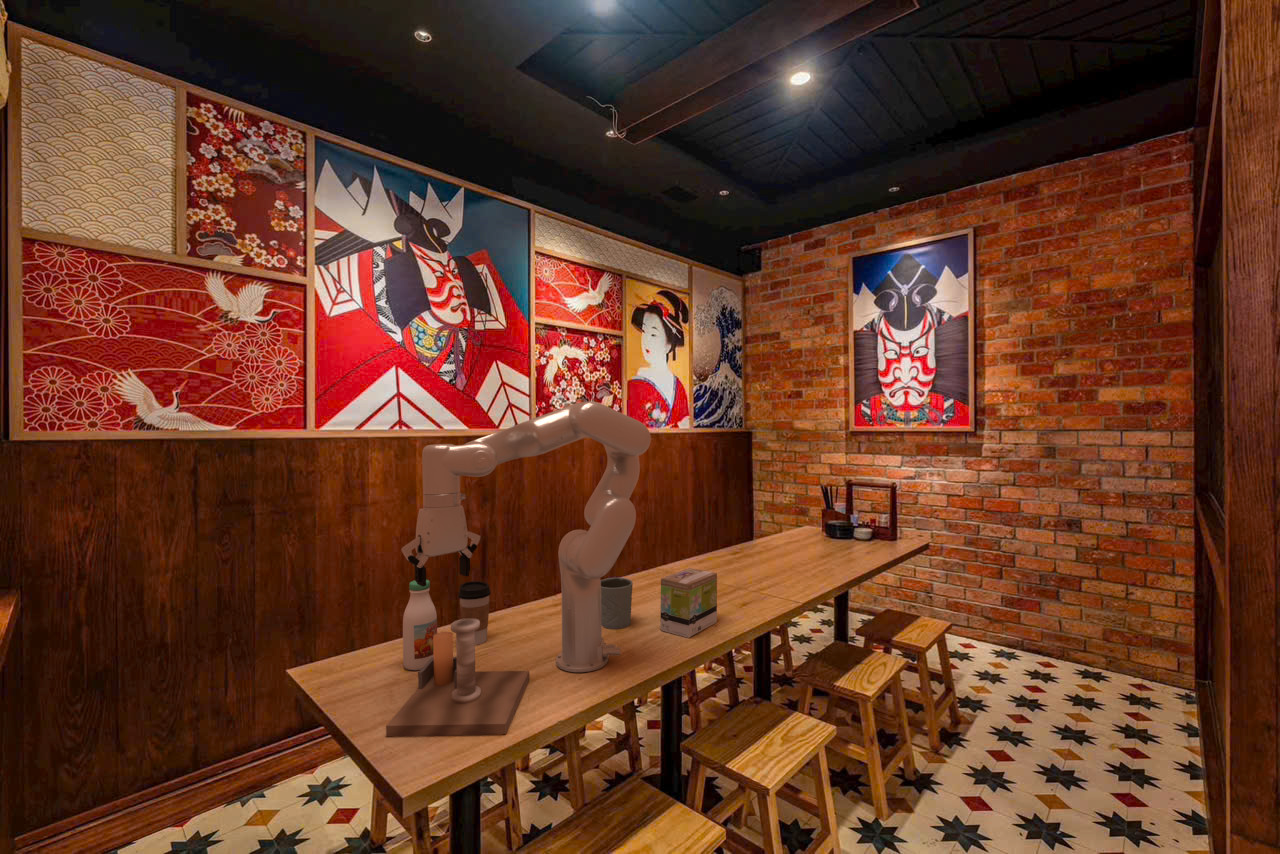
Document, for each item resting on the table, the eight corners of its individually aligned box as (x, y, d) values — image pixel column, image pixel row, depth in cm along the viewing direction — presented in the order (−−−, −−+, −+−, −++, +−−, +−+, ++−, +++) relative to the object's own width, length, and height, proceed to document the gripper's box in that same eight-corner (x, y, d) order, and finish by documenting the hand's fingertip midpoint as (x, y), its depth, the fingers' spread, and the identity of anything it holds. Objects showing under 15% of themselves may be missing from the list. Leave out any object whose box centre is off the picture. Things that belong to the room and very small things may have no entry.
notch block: (469, 672, 122) (469, 656, 122) (458, 688, 115) (458, 671, 115) (432, 672, 122) (431, 657, 122) (418, 689, 115) (418, 672, 115)
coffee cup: (479, 632, 152) (478, 578, 152) (498, 639, 146) (497, 583, 146) (452, 642, 145) (451, 585, 145) (470, 649, 140) (469, 591, 140)
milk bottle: (400, 673, 127) (399, 587, 127) (405, 659, 134) (404, 578, 134) (436, 668, 129) (435, 584, 129) (439, 655, 136) (437, 575, 136)
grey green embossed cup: (635, 618, 161) (634, 577, 161) (631, 631, 151) (630, 587, 151) (601, 617, 162) (600, 577, 162) (595, 630, 152) (594, 587, 152)
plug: (456, 677, 120) (455, 631, 120) (449, 685, 116) (449, 638, 116) (437, 677, 120) (437, 631, 120) (431, 686, 116) (430, 639, 116)
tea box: (690, 639, 145) (689, 583, 145) (659, 631, 151) (658, 577, 151) (718, 622, 157) (717, 571, 157) (688, 615, 163) (687, 566, 163)
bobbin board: (529, 679, 123) (528, 604, 123) (505, 734, 101) (504, 642, 101) (431, 681, 123) (430, 605, 123) (386, 736, 101) (385, 644, 101)
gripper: (470, 495, 127) (471, 569, 127) (394, 504, 115) (395, 585, 115) (486, 498, 122) (488, 574, 122) (408, 507, 109) (410, 592, 110)
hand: (443, 580), depth 118 cm, fingers open, 9 cm apart
